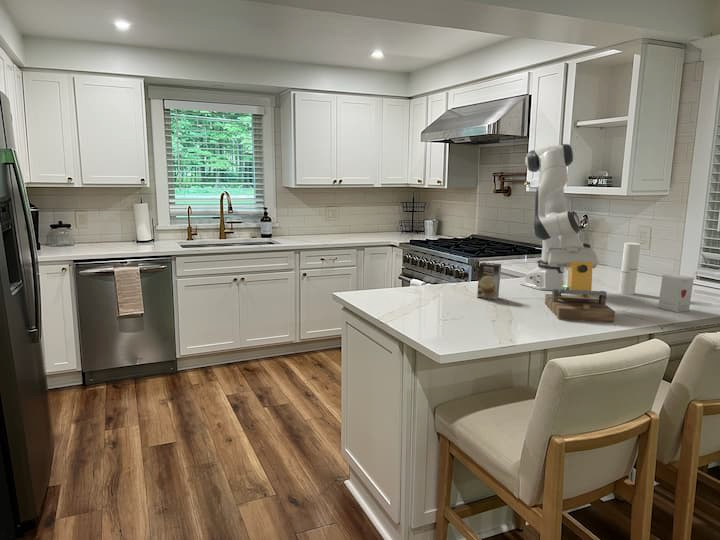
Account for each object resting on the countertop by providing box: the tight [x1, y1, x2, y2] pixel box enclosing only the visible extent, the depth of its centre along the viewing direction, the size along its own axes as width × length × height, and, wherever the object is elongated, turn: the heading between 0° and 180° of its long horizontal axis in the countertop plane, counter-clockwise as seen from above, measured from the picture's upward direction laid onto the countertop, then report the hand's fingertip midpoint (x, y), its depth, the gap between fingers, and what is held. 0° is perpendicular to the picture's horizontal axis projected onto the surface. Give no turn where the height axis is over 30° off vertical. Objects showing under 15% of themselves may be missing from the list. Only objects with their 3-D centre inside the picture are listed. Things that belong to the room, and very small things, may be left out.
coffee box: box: [476, 261, 502, 300], centre depth 246 cm, size 9×6×16 cm
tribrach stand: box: [544, 289, 616, 323], centre depth 223 cm, size 26×21×10 cm
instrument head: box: [558, 261, 608, 296], centre depth 223 cm, size 18×16×14 cm
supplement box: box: [657, 273, 695, 313], centre depth 233 cm, size 9×9×15 cm
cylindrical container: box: [618, 242, 642, 296], centre depth 263 cm, size 7×7×25 cm
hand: (574, 274), depth 229 cm, fingers closed
